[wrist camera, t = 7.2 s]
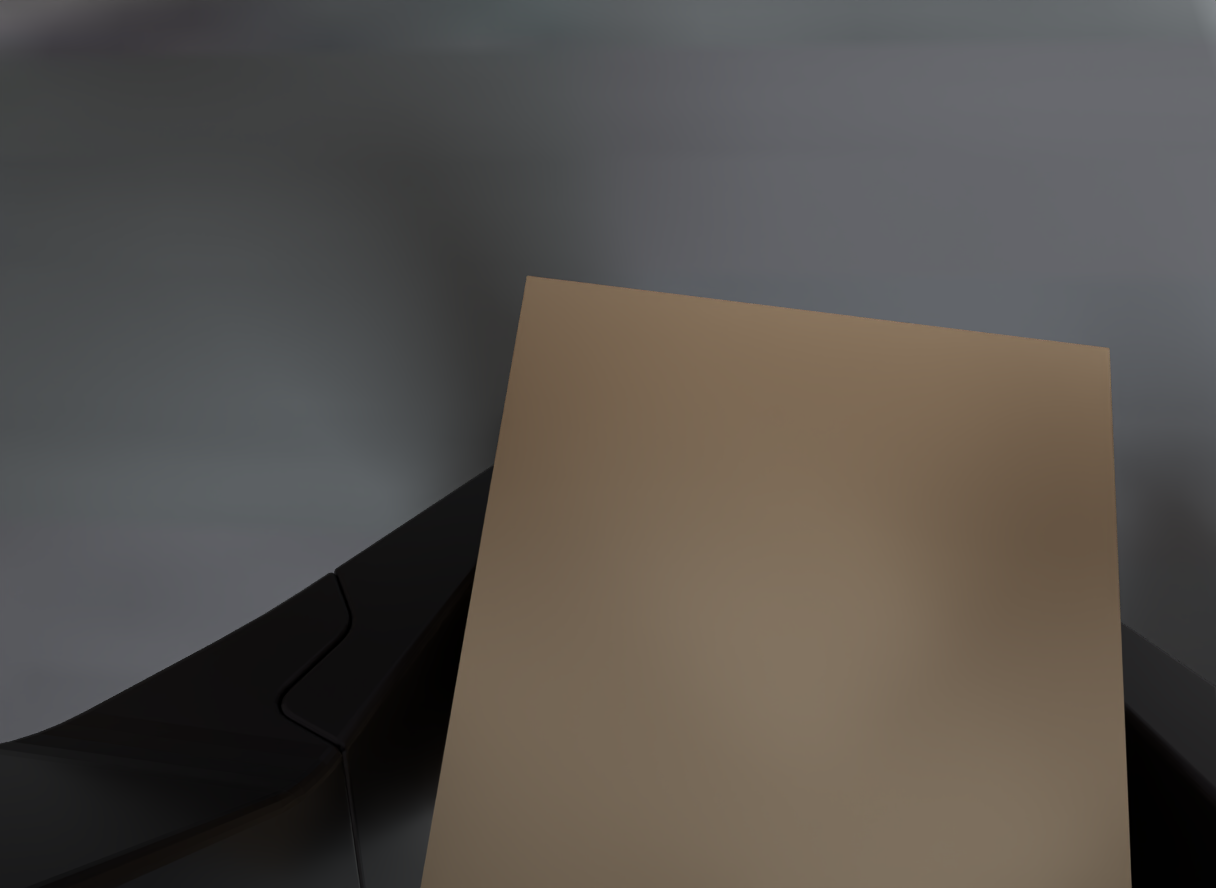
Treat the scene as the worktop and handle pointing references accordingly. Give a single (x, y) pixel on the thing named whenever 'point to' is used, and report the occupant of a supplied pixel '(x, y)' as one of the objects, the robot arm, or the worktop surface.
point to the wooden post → (789, 608)
